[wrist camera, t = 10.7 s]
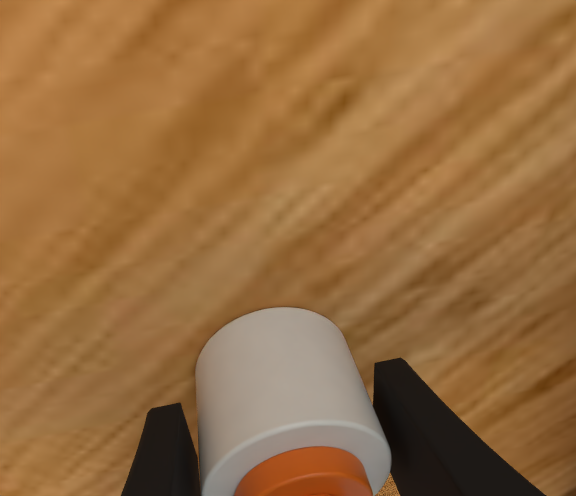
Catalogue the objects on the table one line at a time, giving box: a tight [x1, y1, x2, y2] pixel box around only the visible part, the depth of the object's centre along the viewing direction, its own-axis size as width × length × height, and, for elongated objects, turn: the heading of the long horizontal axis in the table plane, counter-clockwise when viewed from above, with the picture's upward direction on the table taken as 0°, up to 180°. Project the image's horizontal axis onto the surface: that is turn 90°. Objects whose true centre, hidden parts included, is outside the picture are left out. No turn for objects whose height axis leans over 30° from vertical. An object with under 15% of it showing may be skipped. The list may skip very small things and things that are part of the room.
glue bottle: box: [195, 307, 392, 496], centre depth 10 cm, size 4×4×4 cm
